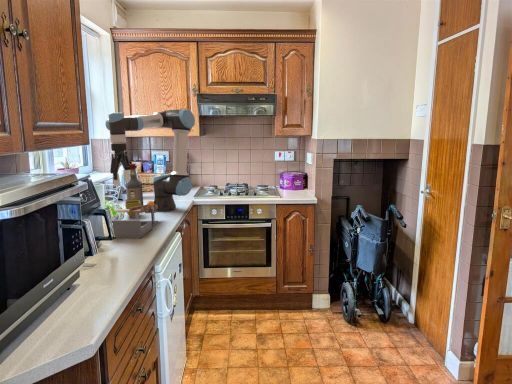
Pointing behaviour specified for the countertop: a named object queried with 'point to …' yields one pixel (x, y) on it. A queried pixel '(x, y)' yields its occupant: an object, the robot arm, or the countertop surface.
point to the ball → (150, 203)
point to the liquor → (134, 187)
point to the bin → (131, 228)
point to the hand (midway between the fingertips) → (122, 183)
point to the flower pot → (132, 204)
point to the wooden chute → (139, 209)
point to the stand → (151, 217)
